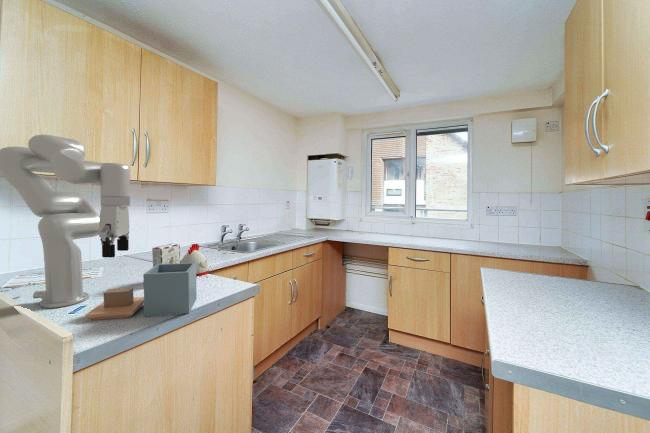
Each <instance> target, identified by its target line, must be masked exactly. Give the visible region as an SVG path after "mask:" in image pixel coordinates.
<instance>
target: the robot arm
mask: <svg viewBox="0 0 650 433" xmlns="http://www.w3.org/2000/svg"><path fill="white" fill-rule="evenodd" d="M27 144H28V145H27V146H28V147H24V146H6V147H2V148H0V174H1V176H2V178H4V179H5V181H6V182H8V184H9V185H11V186H12V187H13V188H14V189H15V190H16V191H17V192H18V194H19V195H20V197H21V198H22V200H23V201H24V202H25V205H27V207H28V208H29V209H30V211H31V212H32V213H33V214H34V215H35V216H36V217H39V218H41V219H40V220H39V221H38V223H37V230H38V233H39V236H40V240H41V243H42V249H43V262H44V282H45V290H38V291H37V290H36V291H34V293H33V295H32V298H33V299H41V300H40V302H39V307H41V308H45V309H53V308H61V307H68V306H72V305H76V304H79V303H81V302H84V301H86V300H88V298H89V293H88V292H84V289H83V288H84V286H83V284H84V282H83V281H84V280H83V260H82V259H83V258H82V251H81V248H80V247H79V246H78V244H76V243H75V242H74V240H79V239H87V238H94V237H97V236H99V237H100V239H99V240H100V241H101V242H100V245H101V257H102V258H115V257H116V249H117V251H118V252H119V251H120V252H123V251H125V252H127V251H129V249H130V248H129V245H130V244H129V240H130V239H129V238H130V236H129V234H130V216H129V215H130V214H129V207H131V173H130V172H131V169H130V167H129V166H128V164H125V163H116V162H97V161H93V160H91V161H90V160H85V159H84V158H85V155H86V150H85V149H86V148H85V147H84V145H83V144H82V143H81V142H79V141H78V140H76V139H71V138H67V137H61V136H57V135H53V134H43V133H42V134H37V135H33V136H32V137H31V138H29V140H28V143H27ZM36 173H45V174H47V173H48V174H54V175H55V176H56V177H58V179H59V178H60V180H63V181H65V182H67V183H70V184H75V185H84V186H85V185H87V186H88V185H90V186H99V187H100V210H99V213H98V212H97V210H96V209H95V207H93V204H92V203H90V201H89V199H87V197H86V196H84V195H83V194H81V193H78V192H74V191H58V190H55V189H54V188H53V187H52V185H51V184H50V182H49V181H48V180H46V178H43V177H42V176H40V175H38V174H36ZM99 237H98V238H99ZM116 238H117V239H116ZM115 240H116V244H114V243H115Z"/></svg>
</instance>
